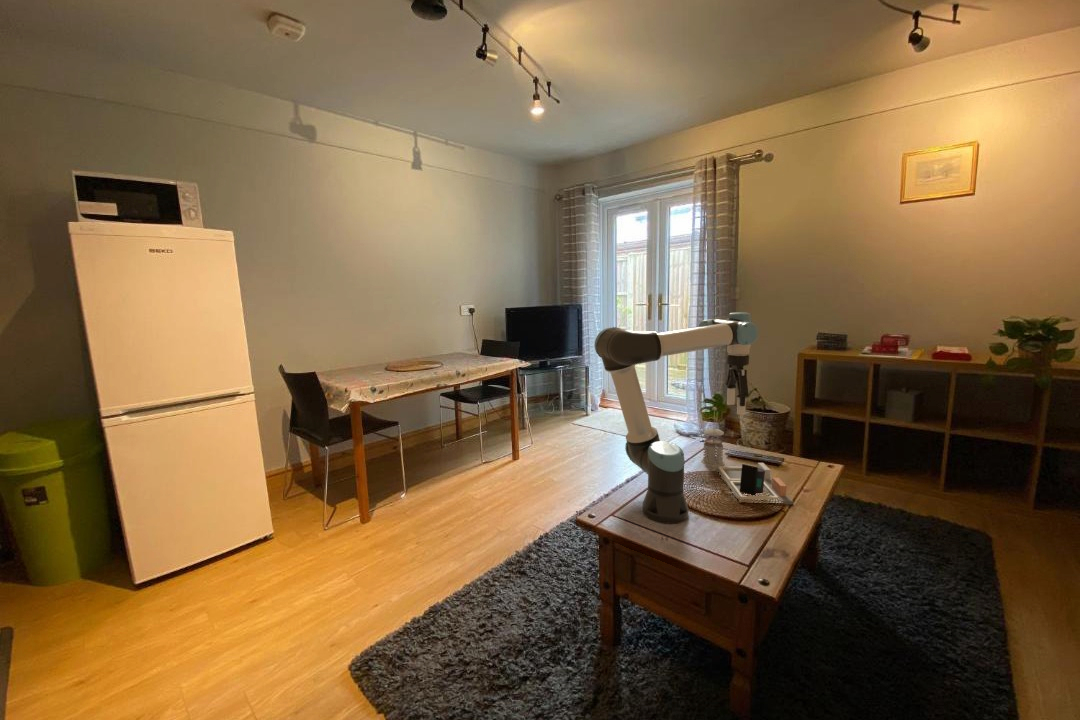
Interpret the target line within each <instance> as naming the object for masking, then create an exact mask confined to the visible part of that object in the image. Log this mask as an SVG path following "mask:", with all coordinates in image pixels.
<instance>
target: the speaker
mask: <svg viewBox="0 0 1080 720" xmlns="http://www.w3.org/2000/svg"><path fill="white" fill-rule="evenodd" d="M741 467H742V472H741V482H740V492H743V493H747V494H751V495H755V494H756V493H763V486H764V476H765V470H763V469H760V468H758V466H755V465H750V464H745V463H742V464H741Z"/></svg>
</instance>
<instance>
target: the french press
mask: <svg viewBox="0 0 1080 720" xmlns="http://www.w3.org/2000/svg"><path fill="white" fill-rule="evenodd" d="M711 409H712V411H713V412H714V413H713V414H714V415H713V424H715V423H716V422H715V417H716V416H715V415H716V411H717V410H718V408H717V407H716V406H713V407H711ZM703 434H705V435H707V436H711V437H713V438H711V437H710V438H706V439H705V440H704V443H703V458H702V459H701V460H700V463H702V464H703V465H705V466H707V467H713V468H714V467H715V468H719V466H726V465H725V464H726V463H725V461H724V459H723V456H724V445H723V441H722V440H721V439H720V438H715V437H721V436H724V434H725V432H724V431H723V430H722V429H718V428H715V427H710V428H706V429H705V430H703Z"/></svg>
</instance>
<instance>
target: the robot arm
mask: <svg viewBox="0 0 1080 720" xmlns="http://www.w3.org/2000/svg"><path fill="white" fill-rule="evenodd" d="M758 338H759V329H758V327H757V325H756V324H755V323H753V322H752V316H751V313H749V312H742V311H741V312H740V311H739V312H738V311H737V312H730V313H728V317H727V318H713V319H710V318H708V319H703V320H701V321H700V322H699V323H698V326H697V327H692V328H685V329H677V330H673V331H672V330H671V331H665V332H656V331H654V330H650V331H636V330H630V329H626V328H625V329H624V328H620V327H617V326H612V327H607V328H604V329H602V330H601V331H600V332H598V334H597V335H596V338H595V340H594V344H593V345H594V350H595V353H596V354H597V355H598V357H599V358H601V360H602V363H603V368H604V369H605V371H606V372H608V373H609V374H610V375H611V378H612V383H613V384H614V385H613V386H614V387H615V388H614V389H615V392H616V395H617V398H618V399H617V400H618V402H619V406H620V409H621V411H622V415H623V419H624V422H625V426H626V429H627V431H628V432H627V433H626V436H625V440H626V442H625V447H624V449H625V452H626V455H627V457H628V459H629V460H630V462H632V463H633V464H634V465H635V466H637V467H638V468H640V469H641V470H642V471H643V472H644V473H646V474H647V491H646V493H645V496H644V498H643V501H642V513H643V515H644V516H645V517H646V518H648V519H650V520H651V521H655V522H657V523H662V524H679V523H682V522H684V521H686V520H687V519H688V518H689V506H688V503H687V500H686V497H685V493H684V482H685V481H684V480H685V478H684V477H685V465H686V463H685V462H686V460H685V453H684V450H683V449H682V447H681V446H678V445H677V444H676V443H672V442H669V441H665V440H664V441H663V440H661V439H660V435H659V431H658V429H657V428H656V427H654V426H652V423H651V419H650V416H649V412H648V409H647V405H646V402H645V399H644V395H643V392H642V391H643V390H642V388H641V385H640V380H639V377H638V374H637V371H636V365H640V364H646V363H650V362H656V361H659V360H660V359H661V358H662V357H667V356H673V355H679V354H680V355H681V354H684V353H685V354H686V353H690V352H691V353H692V352H696V351H703V350H708V349H715V348H721V347H726V346H727V349H726V350H727V351H726V352H727V353H728V354H727V356H726V364H727V365H728V373H727V376H726V382H725V385H726V388H727V391H726V392H727V394H726V395H727V396H726V397H727V398H726V405H728V406H730V405H732V406H735V403H736V401H737V405H736V415H746V410H747V409H746V405H747V398H748V397H749V395H750V394H749V388H748V386H749V385H748V376H747V375H748V371H747V369H744V366H748V365H749V364H750V348H752V344H753V343H755V342H756V341H757V339H758ZM736 389H737V393H738V394H737V395H736ZM736 398H737V400H736Z"/></svg>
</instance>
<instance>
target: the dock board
mask: <svg viewBox="0 0 1080 720" xmlns="http://www.w3.org/2000/svg"><path fill="white" fill-rule="evenodd" d="M757 467H758V468H760V469H763V470H765V476H764V486H763V490H765V491H767V492H769V493H770V494H771V495H772V496H745V495H742V494H744V493H743V492H740V482H741V472H742V466H726V465H724V466H719V467H715V468H716V469H715V471H716V473H718V472H719V473H720V474H721V475H722V477H723V478H724V480H725V481H726V482H727V484H728V485H729V487H730V488H731V490H732V491H733V492H734V493H735V495H736V496H738V497H740V499H777V500H778V497H779V500H780V501H782V502H784V503H785V504H784V505H794V501H793V499H792V498H791V497H790V496H789V494H787V485H786V484H785V483H784V482H783V481H782V480H781V479H780V478H779V477H771V469H770V468H769V467H768V465H767V464H765V463H764V462H757ZM745 494H746V493H745Z"/></svg>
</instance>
